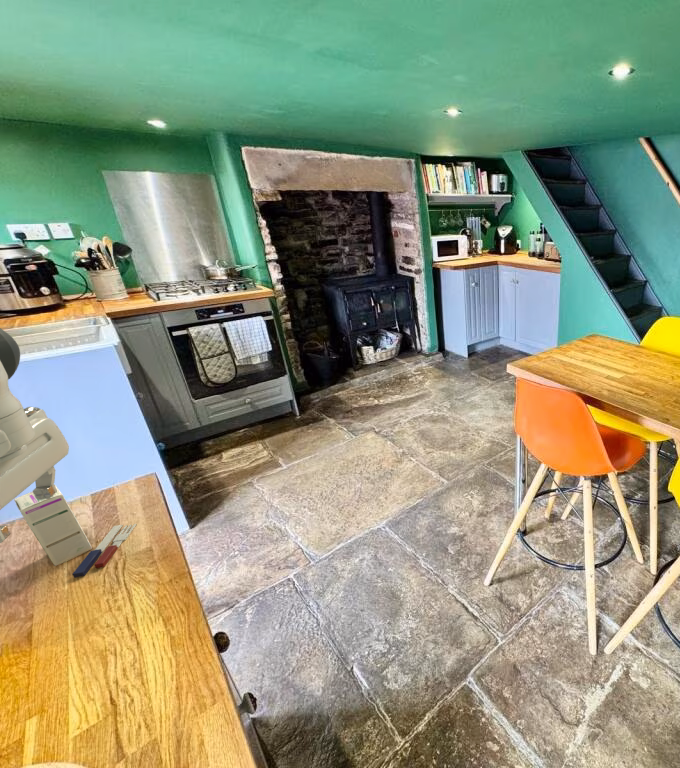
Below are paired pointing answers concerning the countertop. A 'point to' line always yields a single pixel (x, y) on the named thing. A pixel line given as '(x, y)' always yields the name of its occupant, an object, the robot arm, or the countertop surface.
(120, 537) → the fork
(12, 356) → the robot arm
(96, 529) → the countertop surface
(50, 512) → the syrup box
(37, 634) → the countertop surface
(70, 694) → the countertop surface
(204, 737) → the countertop surface
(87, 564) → the knife
